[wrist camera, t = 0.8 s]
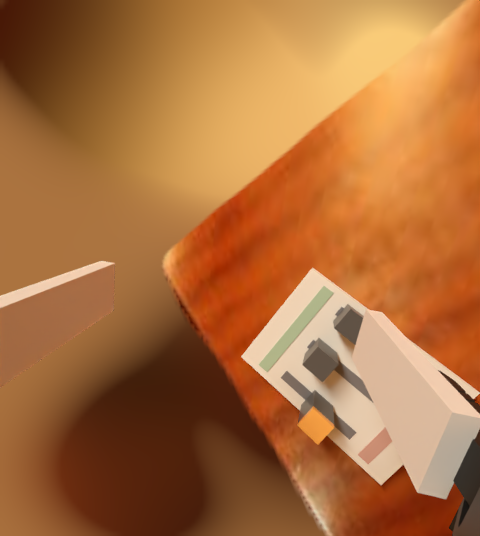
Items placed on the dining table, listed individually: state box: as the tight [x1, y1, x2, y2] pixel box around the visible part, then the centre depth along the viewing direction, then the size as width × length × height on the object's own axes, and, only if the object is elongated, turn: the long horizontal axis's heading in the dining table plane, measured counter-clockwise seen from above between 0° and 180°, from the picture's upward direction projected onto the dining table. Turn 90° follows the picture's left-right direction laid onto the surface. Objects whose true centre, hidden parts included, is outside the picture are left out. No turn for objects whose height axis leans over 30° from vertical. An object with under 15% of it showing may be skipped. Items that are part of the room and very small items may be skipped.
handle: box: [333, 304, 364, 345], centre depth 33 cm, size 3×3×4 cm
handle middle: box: [302, 338, 339, 382], centre depth 34 cm, size 3×3×4 cm
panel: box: [241, 268, 479, 485], centre depth 37 cm, size 24×17×2 cm
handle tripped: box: [297, 390, 334, 445], centre depth 34 cm, size 3×3×5 cm
